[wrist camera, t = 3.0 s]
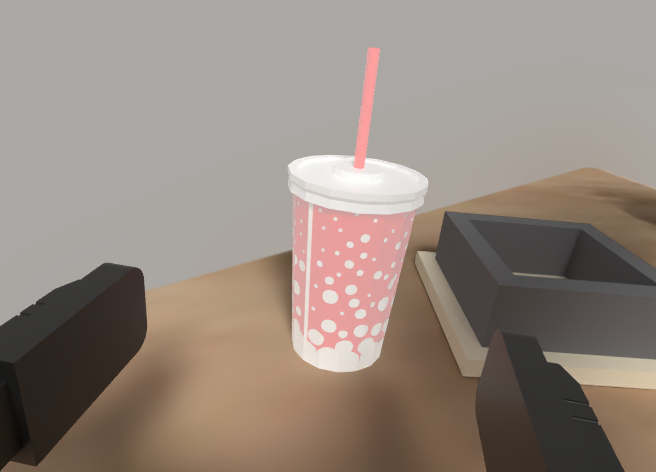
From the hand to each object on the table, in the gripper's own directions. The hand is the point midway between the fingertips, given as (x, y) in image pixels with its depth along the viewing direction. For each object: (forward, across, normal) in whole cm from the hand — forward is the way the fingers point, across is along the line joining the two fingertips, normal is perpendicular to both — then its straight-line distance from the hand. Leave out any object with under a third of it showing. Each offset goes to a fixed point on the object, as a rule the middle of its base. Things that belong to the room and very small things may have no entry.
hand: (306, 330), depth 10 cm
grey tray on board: (+17, -11, +8) cm, 22 cm away
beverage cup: (+11, 0, +8) cm, 14 cm away
